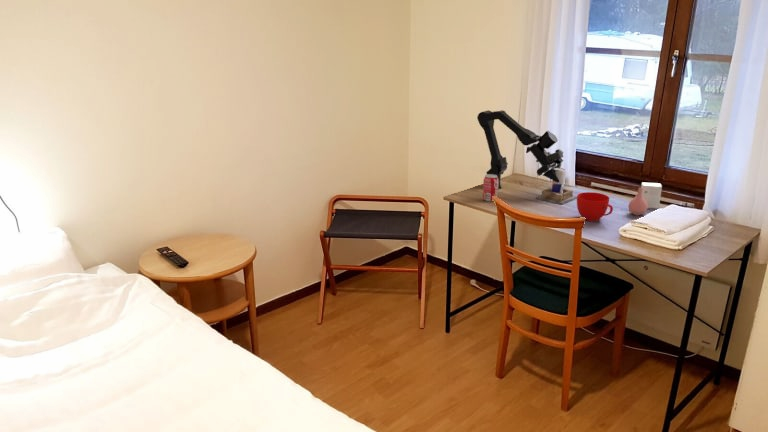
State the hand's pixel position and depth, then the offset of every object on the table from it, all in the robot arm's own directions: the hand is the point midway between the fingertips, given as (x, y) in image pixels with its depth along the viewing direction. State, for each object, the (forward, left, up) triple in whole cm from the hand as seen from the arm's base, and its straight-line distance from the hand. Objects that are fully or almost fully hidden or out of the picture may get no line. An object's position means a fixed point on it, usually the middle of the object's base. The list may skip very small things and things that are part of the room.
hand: (560, 180), depth 265 cm
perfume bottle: (+21, +29, -9) cm, 37 cm away
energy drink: (-1, -1, -7) cm, 7 cm away
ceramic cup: (+29, +9, -9) cm, 32 cm away
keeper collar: (-1, -1, -9) cm, 9 cm away
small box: (+9, +38, -9) cm, 40 cm away
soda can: (+3, -33, -9) cm, 34 cm away
